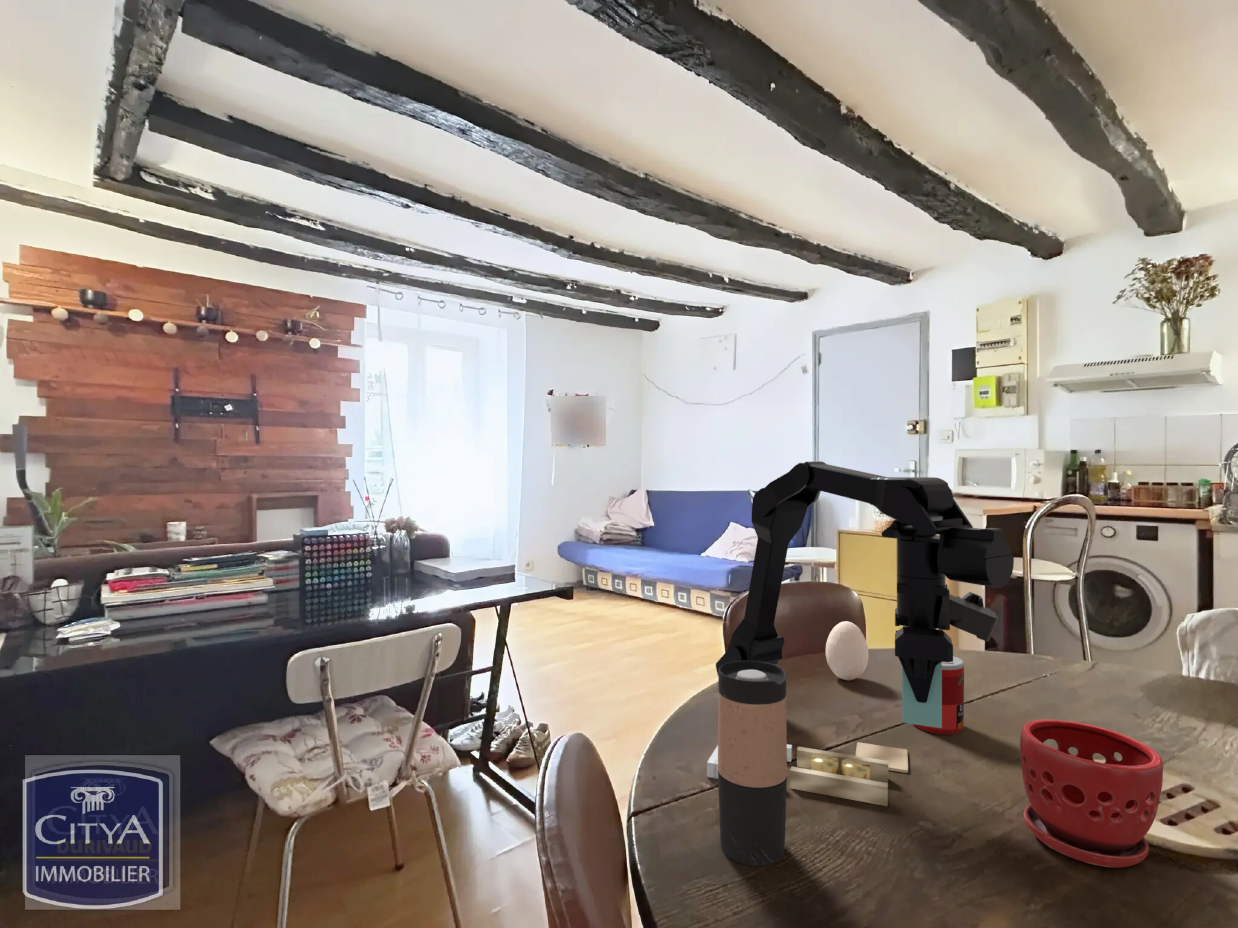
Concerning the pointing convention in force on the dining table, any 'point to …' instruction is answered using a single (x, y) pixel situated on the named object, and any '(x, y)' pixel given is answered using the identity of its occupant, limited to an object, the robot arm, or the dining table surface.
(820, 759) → the gold rounded lump
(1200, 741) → the dining table surface
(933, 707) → the block
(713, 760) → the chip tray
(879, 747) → the cork pad
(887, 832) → the dining table surface
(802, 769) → the slot rails
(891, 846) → the dining table surface
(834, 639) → the egg
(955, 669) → the canned food
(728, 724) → the travel mug
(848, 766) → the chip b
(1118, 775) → the plant pot
